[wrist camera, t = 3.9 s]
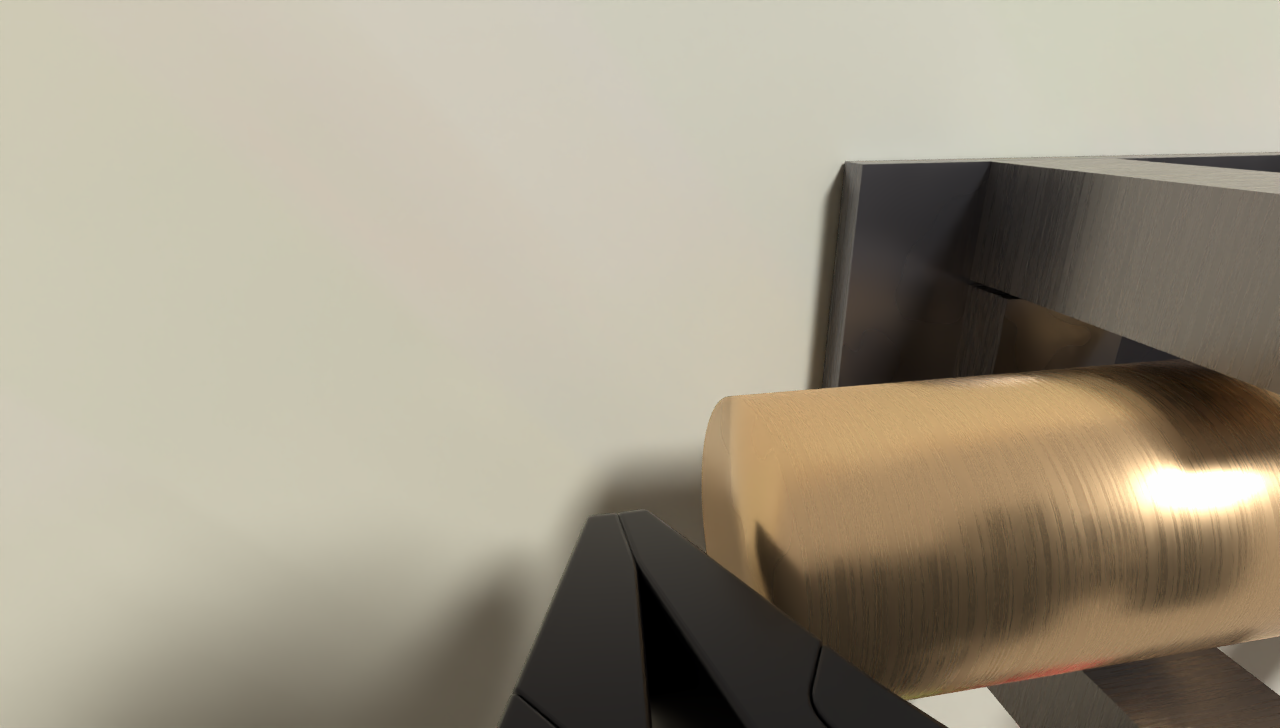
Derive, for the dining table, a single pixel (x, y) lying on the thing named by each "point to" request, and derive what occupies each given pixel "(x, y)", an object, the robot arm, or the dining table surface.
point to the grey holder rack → (1069, 330)
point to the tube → (1005, 518)
